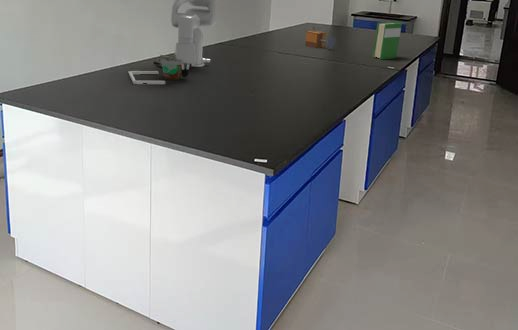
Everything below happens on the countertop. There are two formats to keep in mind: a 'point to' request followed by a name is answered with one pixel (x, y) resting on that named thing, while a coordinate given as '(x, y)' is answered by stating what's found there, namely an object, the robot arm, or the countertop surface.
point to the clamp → (318, 39)
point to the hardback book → (387, 40)
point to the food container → (171, 69)
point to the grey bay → (144, 81)
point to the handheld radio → (166, 58)
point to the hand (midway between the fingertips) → (184, 76)
